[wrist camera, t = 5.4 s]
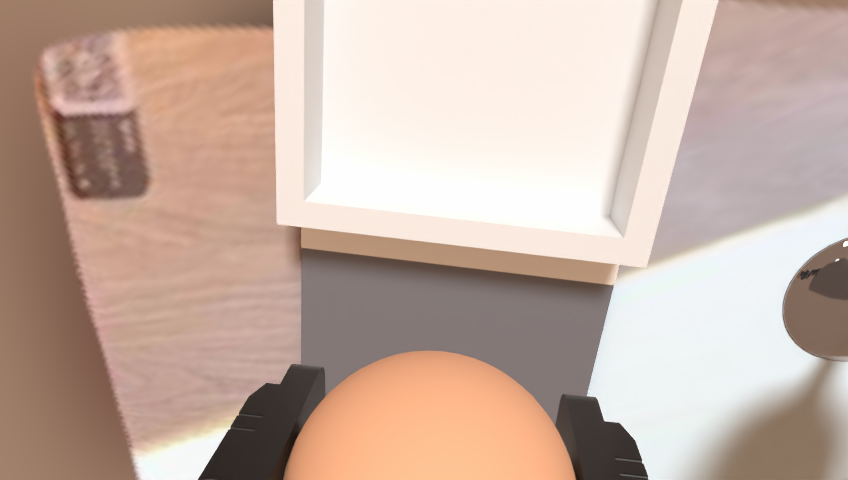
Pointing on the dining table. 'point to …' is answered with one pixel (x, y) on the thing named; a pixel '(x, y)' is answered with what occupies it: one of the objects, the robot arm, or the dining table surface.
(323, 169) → the tray
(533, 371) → the mat
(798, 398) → the dining table surface
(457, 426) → the ball
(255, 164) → the dining table surface
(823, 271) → the wine glass
